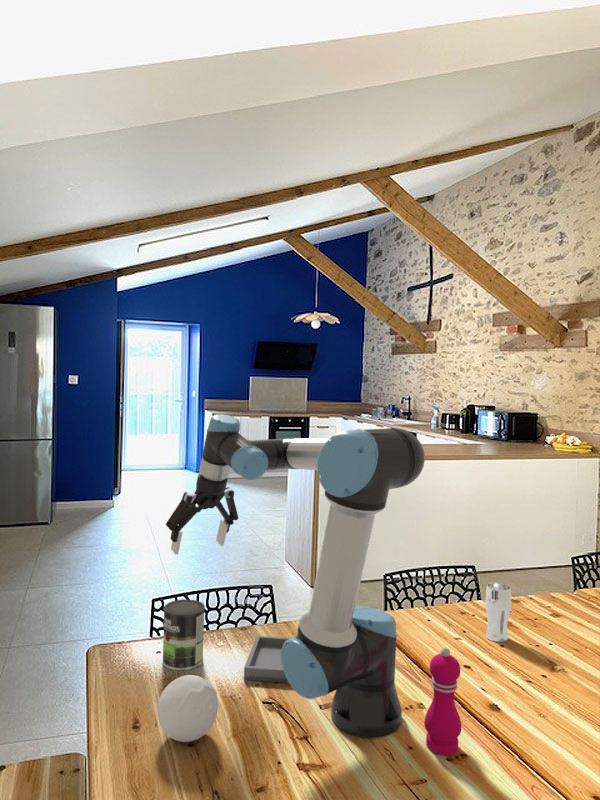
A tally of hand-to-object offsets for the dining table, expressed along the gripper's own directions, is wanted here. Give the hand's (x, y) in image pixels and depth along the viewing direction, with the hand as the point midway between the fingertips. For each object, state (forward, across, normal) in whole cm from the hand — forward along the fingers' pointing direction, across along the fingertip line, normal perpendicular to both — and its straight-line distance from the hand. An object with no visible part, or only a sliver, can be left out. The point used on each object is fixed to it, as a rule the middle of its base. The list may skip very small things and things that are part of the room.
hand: (197, 547), depth 156 cm
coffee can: (+26, +5, +12) cm, 29 cm away
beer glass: (+12, -73, +51) cm, 90 cm away
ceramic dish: (+20, -14, +28) cm, 37 cm away
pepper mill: (+6, -18, +71) cm, 73 cm away
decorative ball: (+16, +20, +39) cm, 47 cm away
